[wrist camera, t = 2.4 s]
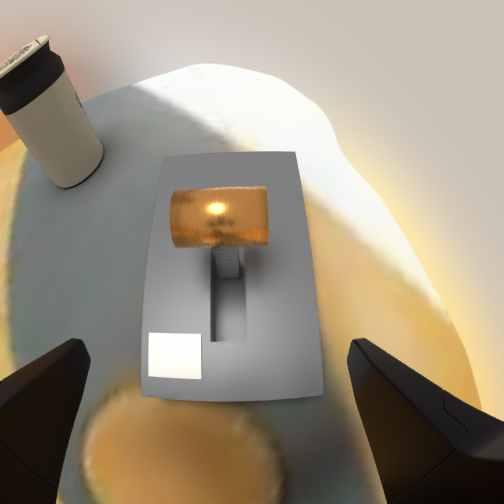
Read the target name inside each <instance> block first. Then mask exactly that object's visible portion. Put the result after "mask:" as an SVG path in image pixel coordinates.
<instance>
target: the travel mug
mask: <svg viewBox="0 0 504 504" xmlns="http://www.w3.org/2000/svg"><path fill="white" fill-rule="evenodd" d="M49 38H50V36H49V35H45V36H42V37H40V38H38V39H36V40H34V41H32V42H31V43H29V44H28V45H26V46H24V47H23V48H21V49H20V50H19V51H18V52H16V53H15V54H13V55H12V56H11V57H10V58H8V59H7V60H6V61H5V62H4V63H3V64H1V65H0V109H1V110H2V112H3V113H4V115H5V116H6V118H7V120H8V121H9V123H10V124H11V126H12V127H13V128H14V130H15V131H16V133H17V134H18V136H19V137H20V139H21V140H22V141H23V143H24V144H25V146H26V147H27V148H28V150H29V151H30V152H31V154H32V155H33V156H34V158H35V159H36V160H37V162H38V163H39V164H40V166H41V167H42V168H43V169H44V171H45V172H46V173H47V174H48V176H49V177H50V178H51V179H52V181H53V182H54V183H55V184H56V185H57V186H58V187H61V188H67V187H71V186H74V185H76V184H78V183H80V182H81V181H83V180H84V179H85V178H87V177H88V176H89V175H90V174H91V173H92V172H93V171H94V170H95V168H96V167H97V166H98V164H99V163H100V161H101V159H102V156H103V146H102V144H101V142H100V140H99V138H98V136H97V135H96V133H95V131H94V129H93V127H92V125H91V123H90V121H89V119H88V117H87V115H86V113H85V111H84V109H83V107H82V105H81V103H80V100H79V98H78V96H77V94H76V92H75V90H74V87H73V85H72V83H71V81H70V79H69V76H68V74H67V72H66V70H65V67H64V65H63V62H62V60H61V57H60V56H59V55H57V54H55V53H54V52H52V51H51V50H50V47H49Z"/></svg>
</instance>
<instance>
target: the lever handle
mask: <svg viewBox="0 0 504 504" xmlns="http://www.w3.org/2000/svg"><path fill="white" fill-rule="evenodd" d="M170 230H171V236H172V240H173V243H174V245H175V247H176V248H177V249H183V248H212V251H213V254H214V258H215V261H216V264H217V268H218V271H219V274H220V277H221V278H240V268H239V250H238V247H246V246H267V245H268V233H269V215H268V197H267V189H266V186H245V187H218V188H198V189H182V190H175V191H174V192H173V194H172V197H171V202H170Z"/></svg>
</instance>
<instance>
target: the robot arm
mask: <svg viewBox="0 0 504 504" xmlns="http://www.w3.org/2000/svg"><path fill="white" fill-rule="evenodd" d="M90 363H91V359H90V355H89V353H88V351H87V349H86V346H85V344H84V342H83V341H82V340H81V339H76V338H72V339H70V340H68V341H66V342H65V343H63V344H61V345H59V346H58V347H56V348H54V349H53V350H51V351H49V352H48V353H46V354H44V355H43V356H41V357H39V358H37V359H36V360H34V361H32V362H31V363H29V364H27V365H26V366H24V367H22V368H21V369H19V370H17V371H16V372H14V373H13V374H11V375H9V376H8V377H6V378H4V379H3V380H2V381H0V504H56V499H57V493H58V487H59V482H60V477H61V472H62V467H63V463H64V459H65V455H66V451H67V447H68V443H69V439H70V436H71V432H72V429H73V425H74V422H75V419H76V415H77V412H78V409H79V406H80V403H81V400H82V396H83V392H84V388H85V383H86V379H87V375H88V371H89V367H90ZM347 365H348V370H349V374H350V378H351V383H352V387H353V392H354V397H355V401H356V405H357V408H358V411H359V414H360V417H361V420H362V423H363V426H364V429H365V432H366V435H367V438H368V441H369V444H370V447H371V450H372V453H373V457H374V460H375V463H376V466H377V470H378V473H379V476H380V480H381V483H382V487H383V490H384V494H385V497H386V501H387V504H504V421H501V420H499V419H497V418H495V417H493V416H491V415H489V414H487V413H485V412H482V411H480V410H478V409H476V408H474V407H473V406H471V405H469V404H467V403H465V402H463V401H462V400H460V399H458V398H457V397H455V396H453V395H452V394H450V393H449V392H447V391H446V390H442V388H441V387H439V386H438V385H436V384H435V383H433V382H431V381H430V380H428V379H427V378H425V377H424V376H422V375H421V374H419V373H418V372H416V371H415V370H413V369H411V368H410V367H408V366H407V365H405V364H404V363H402V362H401V361H399V360H398V359H396V358H395V357H393V356H392V355H390V354H389V353H387V352H386V351H384V350H382V349H381V348H379V347H378V346H376V345H375V344H373V343H372V342H370V341H369V340H367V339H366V338H358V339H353V340H352V342H351V345H350V349H349V353H348V357H347Z"/></svg>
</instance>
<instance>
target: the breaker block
mask: <svg viewBox="0 0 504 504" xmlns="http://www.w3.org/2000/svg"><path fill="white" fill-rule="evenodd" d="M245 186H266V189H267V197H268V215H269V233H268V245H267V246H246V247H238V250H239V268H240V278H221V277H220V274H219V271H218V268H217V264H216V261H215V258H214V254H213V251H212V248H183V249H177V248H176V247H175V245H174V243H173V240H172V236H171V230H170V202H171V197H172V194H173V192H174V191H175V190H182V189H198V188H218V187H245ZM141 383H142V396H143V397H151V398H161V399H173V400H189V401H263V400H279V399H291V398H302V397H311V396H319V395H324V385H323V367H322V352H321V339H320V327H319V316H318V306H317V296H316V287H315V278H314V269H313V261H312V254H311V246H310V239H309V232H308V225H307V218H306V212H305V205H304V199H303V193H302V187H301V181H300V175H299V170H298V164H297V159H296V154H295V152H226V153H207V154H193V155H181V156H170V157H164V159H163V164H162V169H161V174H160V179H159V184H158V189H157V195H156V201H155V207H154V213H153V220H152V226H151V234H150V241H149V249H148V258H147V267H146V277H145V289H144V302H143V319H142V348H141Z"/></svg>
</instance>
